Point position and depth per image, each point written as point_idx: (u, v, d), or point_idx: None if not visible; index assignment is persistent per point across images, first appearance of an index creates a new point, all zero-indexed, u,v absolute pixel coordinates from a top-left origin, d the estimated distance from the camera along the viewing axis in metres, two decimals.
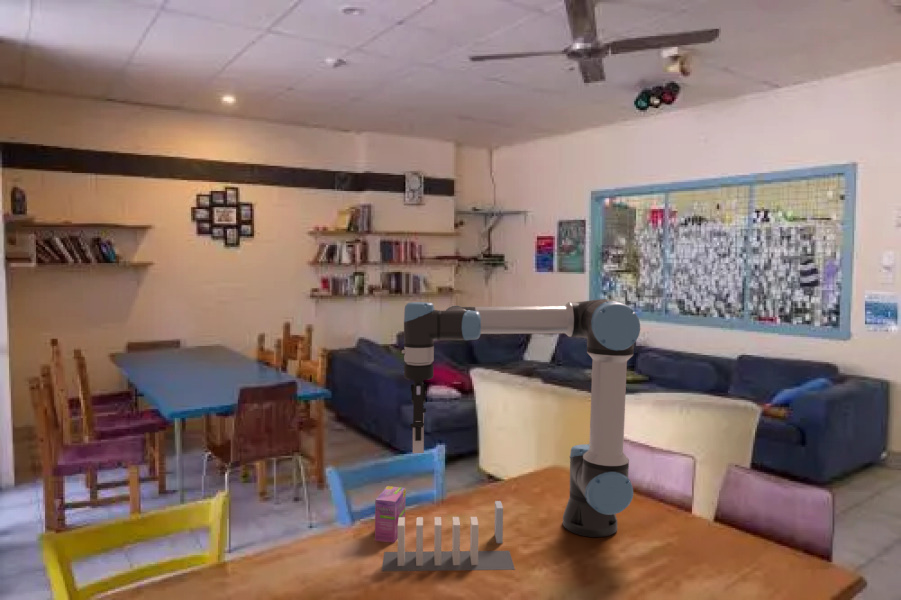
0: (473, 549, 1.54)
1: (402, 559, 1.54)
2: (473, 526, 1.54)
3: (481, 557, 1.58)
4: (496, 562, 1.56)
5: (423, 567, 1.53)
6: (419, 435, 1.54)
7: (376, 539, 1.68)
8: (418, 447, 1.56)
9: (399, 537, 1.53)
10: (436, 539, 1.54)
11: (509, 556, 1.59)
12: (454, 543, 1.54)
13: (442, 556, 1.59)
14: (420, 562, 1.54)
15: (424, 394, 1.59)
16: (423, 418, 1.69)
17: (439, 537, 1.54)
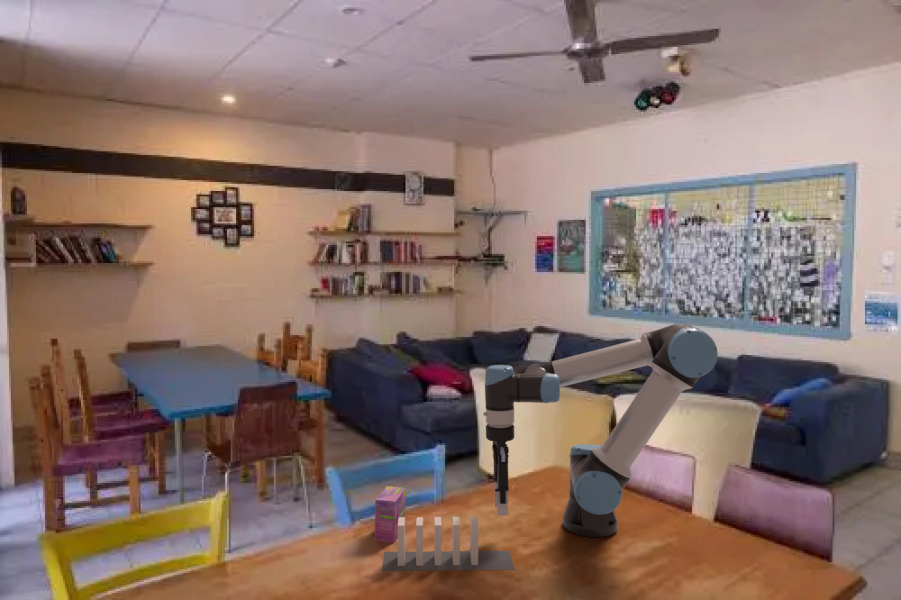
0: (473, 549, 1.54)
1: (402, 559, 1.54)
2: (473, 526, 1.54)
3: (481, 557, 1.58)
4: (496, 562, 1.56)
5: (423, 567, 1.53)
6: (503, 499, 1.64)
7: (376, 539, 1.68)
8: (502, 509, 1.66)
9: (399, 537, 1.53)
10: (436, 539, 1.54)
11: (509, 556, 1.59)
12: (454, 543, 1.54)
13: (442, 556, 1.59)
14: (420, 562, 1.54)
15: None
16: None
17: (439, 537, 1.54)
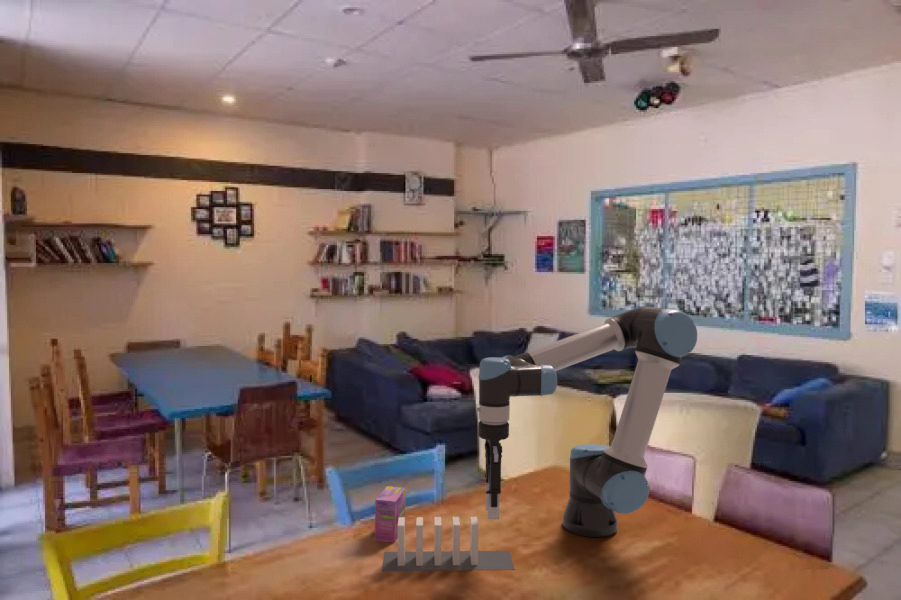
0: (473, 549, 1.54)
1: (402, 559, 1.54)
2: (473, 526, 1.54)
3: (481, 557, 1.58)
4: (496, 562, 1.56)
5: (423, 567, 1.53)
6: (495, 502, 1.52)
7: (376, 539, 1.68)
8: (493, 513, 1.53)
9: (399, 537, 1.53)
10: (436, 539, 1.54)
11: (509, 556, 1.59)
12: (454, 543, 1.54)
13: (442, 556, 1.59)
14: (420, 562, 1.54)
15: None
16: None
17: (439, 537, 1.54)
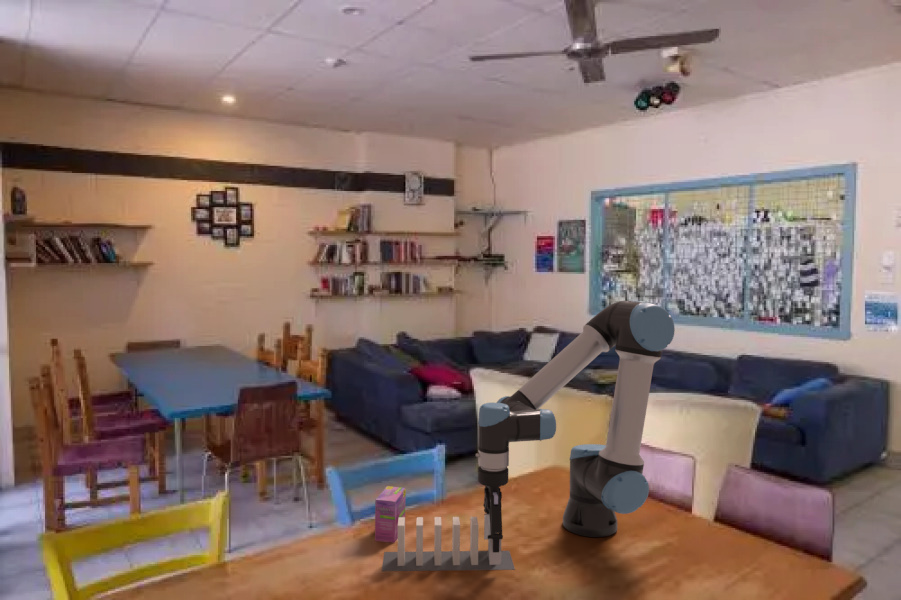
0: (473, 549, 1.54)
1: (402, 559, 1.54)
2: (473, 526, 1.54)
3: (481, 557, 1.58)
4: None
5: (423, 567, 1.53)
6: (497, 547, 1.49)
7: (376, 539, 1.68)
8: (495, 558, 1.50)
9: (399, 537, 1.53)
10: (436, 539, 1.54)
11: (509, 556, 1.59)
12: (454, 543, 1.54)
13: (442, 556, 1.59)
14: (420, 562, 1.54)
15: None
16: None
17: (439, 537, 1.54)
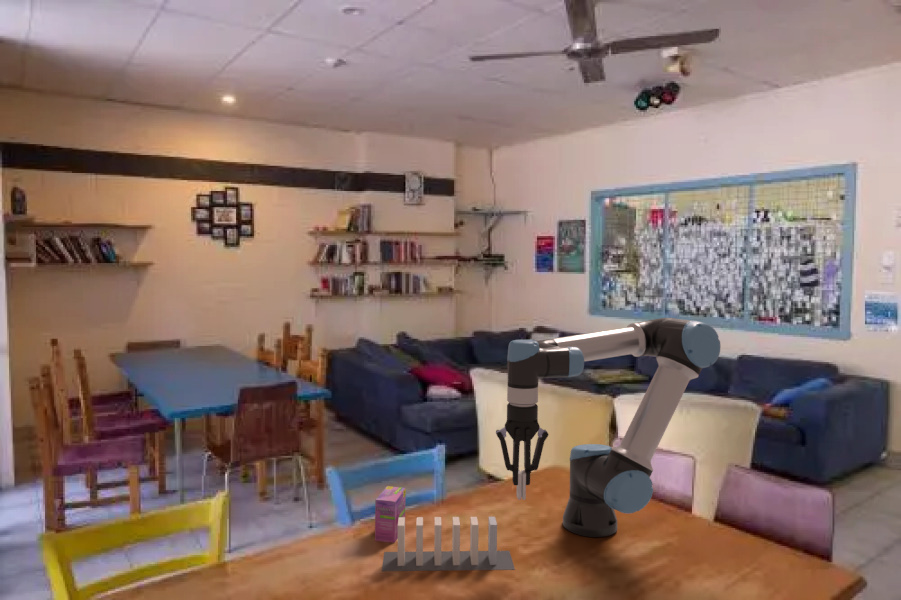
0: (473, 549, 1.54)
1: (402, 559, 1.54)
2: (473, 526, 1.54)
3: (481, 557, 1.58)
4: None
5: (423, 567, 1.53)
6: (513, 479, 1.56)
7: (376, 539, 1.68)
8: (517, 492, 1.56)
9: (399, 537, 1.53)
10: (436, 539, 1.54)
11: (509, 556, 1.59)
12: (454, 543, 1.54)
13: (442, 556, 1.59)
14: (420, 562, 1.54)
15: (515, 438, 1.54)
16: (522, 478, 1.55)
17: (439, 537, 1.54)
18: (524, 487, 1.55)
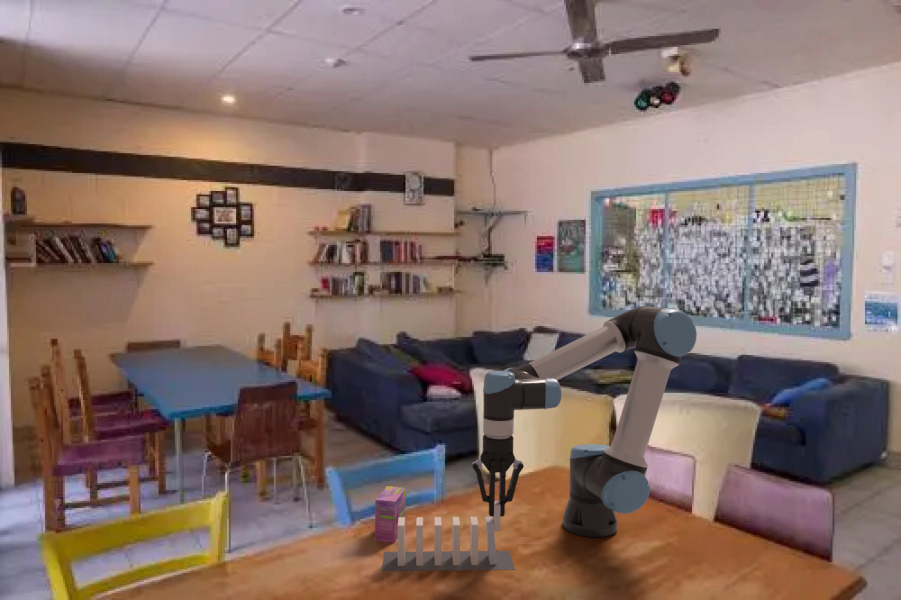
0: (473, 549, 1.54)
1: (402, 559, 1.54)
2: (473, 526, 1.54)
3: (481, 557, 1.58)
4: (496, 562, 1.56)
5: (423, 567, 1.53)
6: (489, 510, 1.56)
7: (376, 539, 1.68)
8: (493, 523, 1.57)
9: (399, 537, 1.53)
10: (436, 539, 1.54)
11: (509, 556, 1.59)
12: (454, 543, 1.54)
13: (442, 556, 1.59)
14: (420, 562, 1.54)
15: (490, 470, 1.54)
16: (497, 509, 1.55)
17: (439, 537, 1.54)
18: (498, 518, 1.55)
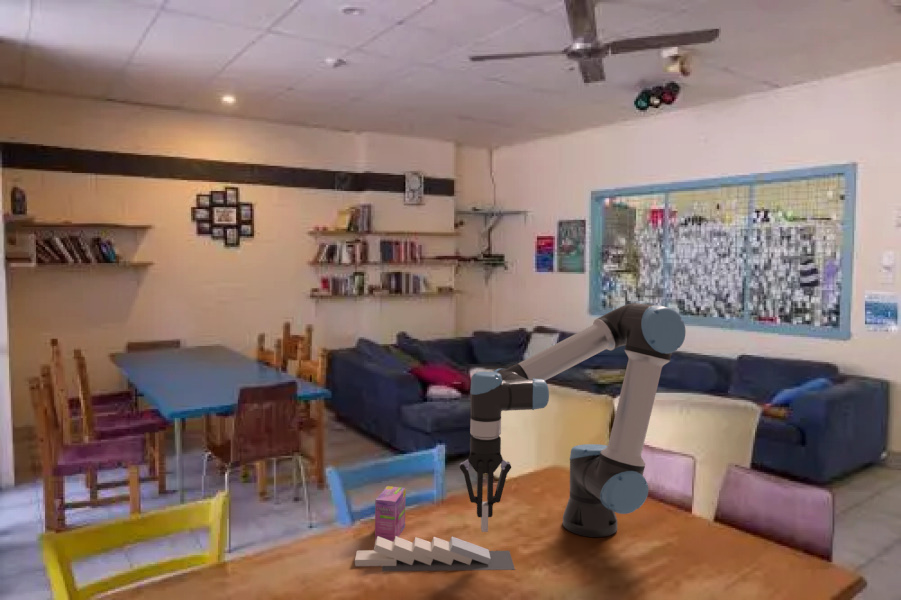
0: (455, 558, 1.54)
1: (389, 561, 1.54)
2: (433, 550, 1.54)
3: None
4: (496, 562, 1.56)
5: (423, 567, 1.53)
6: (477, 511, 1.56)
7: None
8: (481, 523, 1.57)
9: (367, 564, 1.54)
10: (406, 554, 1.54)
11: (509, 556, 1.59)
12: (430, 556, 1.54)
13: None
14: (410, 560, 1.54)
15: (478, 470, 1.54)
16: (484, 510, 1.55)
17: (405, 551, 1.54)
18: (486, 519, 1.55)
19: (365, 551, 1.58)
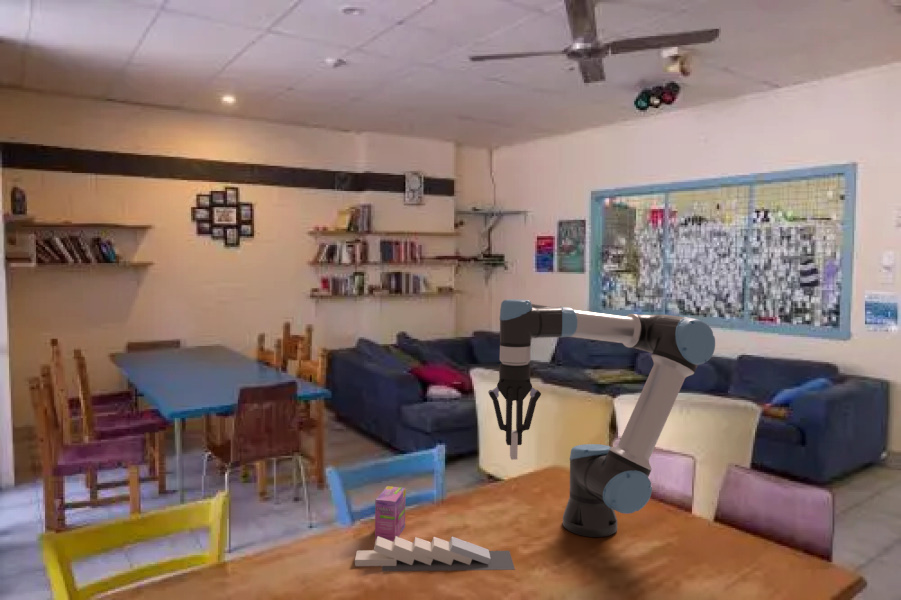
0: (455, 558, 1.54)
1: (389, 561, 1.54)
2: (433, 550, 1.54)
3: None
4: (496, 562, 1.56)
5: (423, 567, 1.53)
6: (506, 439, 1.55)
7: None
8: (510, 452, 1.56)
9: (367, 564, 1.54)
10: (406, 554, 1.54)
11: (509, 556, 1.59)
12: (430, 556, 1.54)
13: None
14: (410, 560, 1.54)
15: (507, 397, 1.54)
16: (514, 438, 1.54)
17: (405, 551, 1.54)
18: (516, 447, 1.54)
19: (365, 551, 1.58)
